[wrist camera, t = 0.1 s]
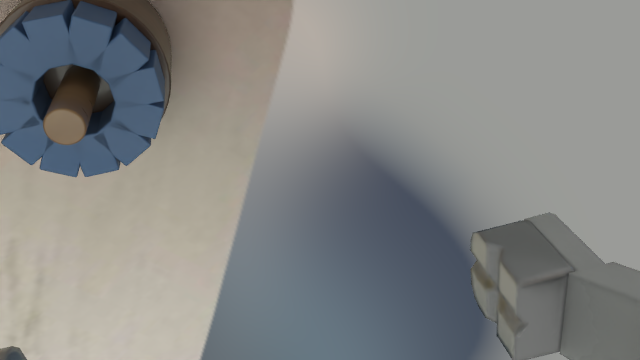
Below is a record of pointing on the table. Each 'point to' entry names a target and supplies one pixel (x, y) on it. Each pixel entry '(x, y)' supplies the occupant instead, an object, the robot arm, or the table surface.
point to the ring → (89, 52)
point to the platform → (85, 84)
